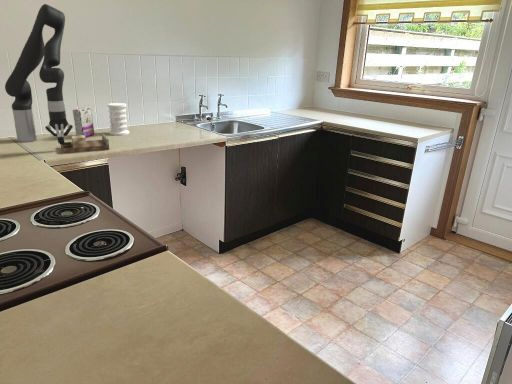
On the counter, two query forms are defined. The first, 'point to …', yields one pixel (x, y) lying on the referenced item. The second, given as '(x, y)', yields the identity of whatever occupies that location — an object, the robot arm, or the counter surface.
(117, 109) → the decorative container
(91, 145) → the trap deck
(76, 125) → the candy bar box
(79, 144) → the maple block
